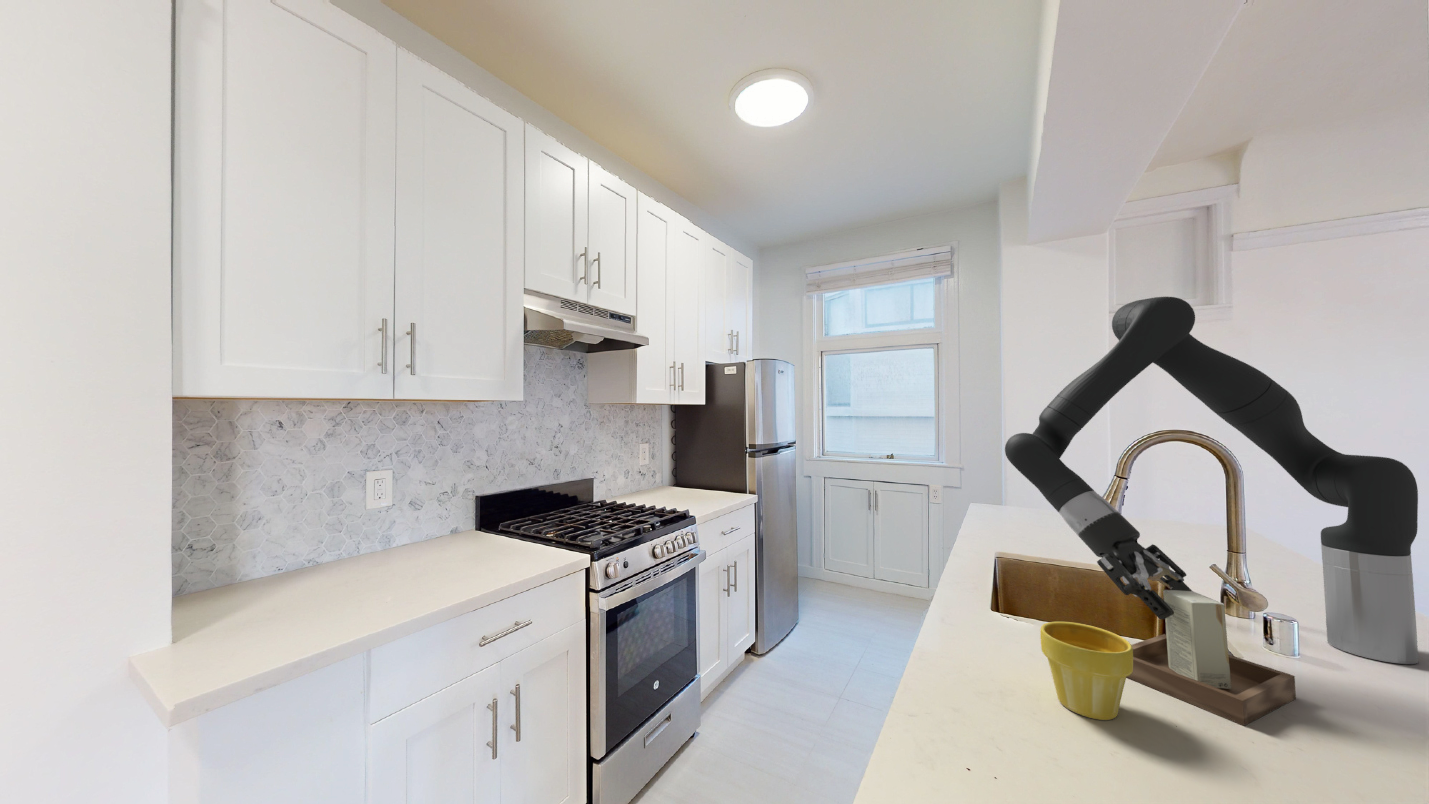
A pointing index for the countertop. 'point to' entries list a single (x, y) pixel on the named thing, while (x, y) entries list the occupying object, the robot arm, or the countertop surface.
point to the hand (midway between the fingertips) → (1183, 612)
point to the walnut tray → (1242, 704)
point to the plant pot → (1087, 667)
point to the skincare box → (1197, 638)
